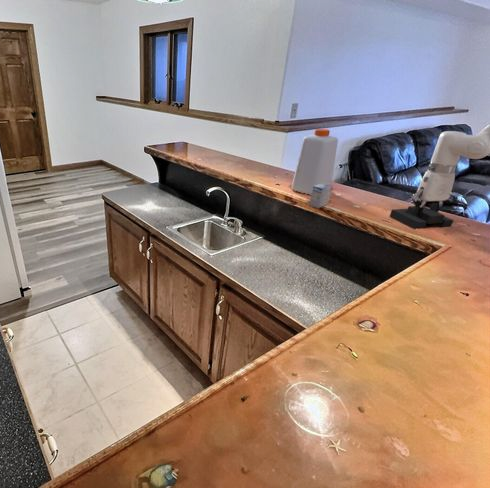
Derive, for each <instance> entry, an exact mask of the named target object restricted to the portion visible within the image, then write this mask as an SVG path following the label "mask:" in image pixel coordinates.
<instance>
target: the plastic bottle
mask: <svg viewBox="0 0 490 488" xmlns="http://www.w3.org/2000/svg"><path fill="white" fill-rule="evenodd" d="M330 133H331V132H330V130H329V129H327V128H316V129H315V130H314V133H313V134H310V135H306V136H304V137H303V140H302V144H301V148H300V150H299V151H300V152H299V155H298V160H297V164H296V167H295V171H294V175H293V179H292V183H291V190H292V191H293V190H294V192H296V191H298V192H297V193H299V192H301V193H300V194H303V193H305V194H304V195H307V194H309V195H308V196H311V195H312V190H313V187H314V186H316V185H319V184H322V183H325V184H329V185H332V183H333V176H334V170H335V162H336V157H337V151H338V150H337V149H338V142H339V138H338V137H337V136H332V135H330Z"/></svg>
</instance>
